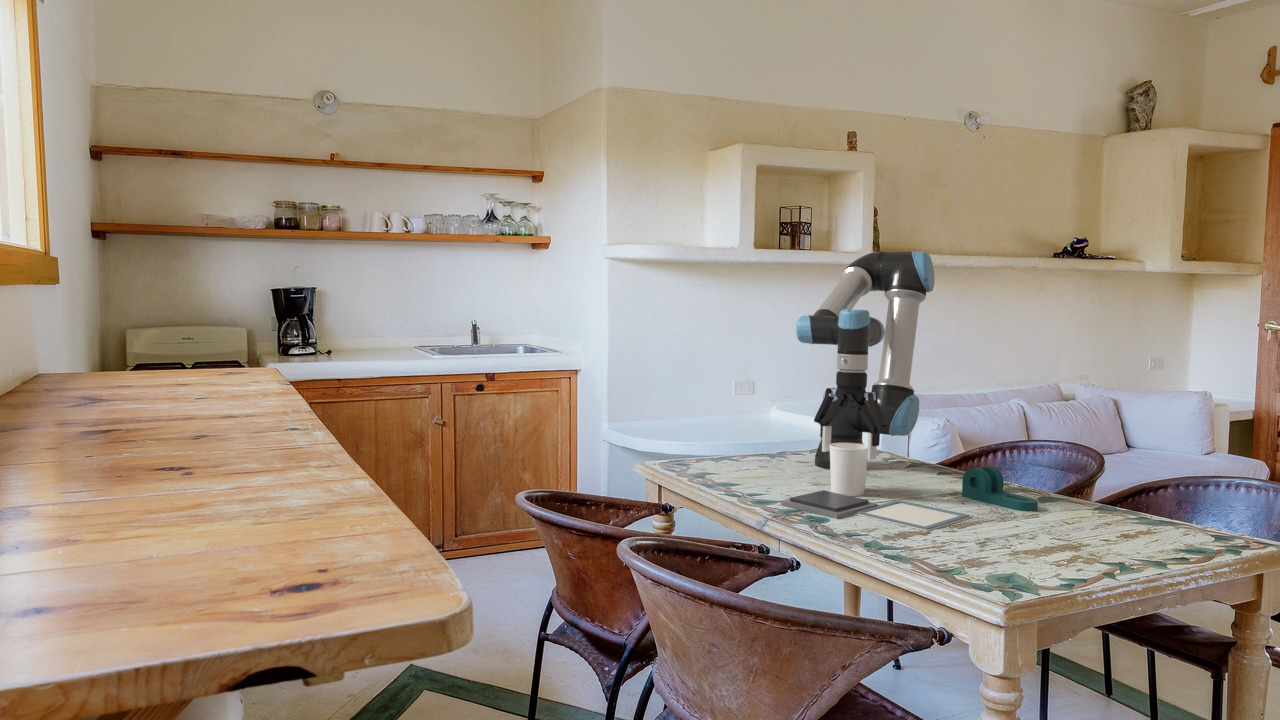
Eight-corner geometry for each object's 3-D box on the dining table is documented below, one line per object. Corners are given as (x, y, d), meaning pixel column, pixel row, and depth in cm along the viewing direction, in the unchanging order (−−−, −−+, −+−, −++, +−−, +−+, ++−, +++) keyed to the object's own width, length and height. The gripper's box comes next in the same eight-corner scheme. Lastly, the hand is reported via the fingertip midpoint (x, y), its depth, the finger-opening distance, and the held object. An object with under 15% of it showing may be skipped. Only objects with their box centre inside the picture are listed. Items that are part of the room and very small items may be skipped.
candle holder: (864, 489, 229) (866, 443, 228) (870, 497, 219) (872, 449, 218) (825, 487, 230) (827, 441, 229) (830, 496, 220) (831, 448, 219)
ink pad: (821, 495, 220) (822, 488, 220) (877, 507, 209) (877, 500, 208) (780, 505, 210) (780, 497, 210) (836, 518, 198) (837, 510, 198)
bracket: (961, 497, 222) (963, 466, 221) (979, 494, 226) (981, 464, 225) (1025, 513, 207) (1027, 480, 206) (1043, 510, 210) (1045, 477, 210)
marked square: (897, 501, 215) (897, 499, 215) (971, 517, 201) (971, 515, 201) (852, 513, 203) (852, 511, 203) (927, 531, 189) (927, 529, 189)
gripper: (802, 367, 229) (799, 449, 230) (887, 375, 210) (883, 463, 211) (820, 367, 234) (817, 446, 235) (904, 374, 215) (900, 460, 216)
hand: (848, 455), depth 223 cm, fingers open, 13 cm apart
